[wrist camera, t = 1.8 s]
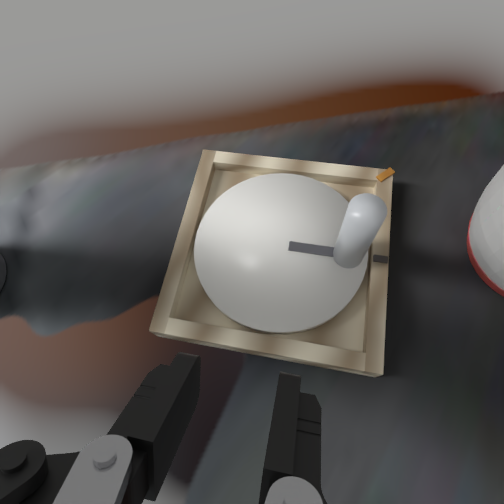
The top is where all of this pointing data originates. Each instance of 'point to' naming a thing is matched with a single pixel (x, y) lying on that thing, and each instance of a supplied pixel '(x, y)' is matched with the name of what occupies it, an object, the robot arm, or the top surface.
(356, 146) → the top surface
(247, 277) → the dial
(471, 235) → the citrus juicer
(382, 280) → the dial housing
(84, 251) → the top surface
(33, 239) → the top surface
